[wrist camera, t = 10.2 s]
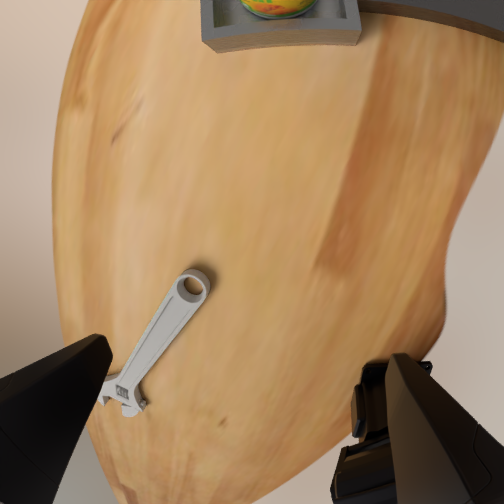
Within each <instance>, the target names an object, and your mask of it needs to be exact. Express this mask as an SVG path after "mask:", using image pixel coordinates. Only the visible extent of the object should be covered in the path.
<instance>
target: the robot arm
mask: <svg viewBox="0 0 504 504" xmlns="http://www.w3.org/2000/svg"><path fill="white" fill-rule="evenodd" d="M112 359H113V354H112V351H111V348H110V346H109V343H108V341H107V339H106V337H105V336H104V335H101V334H92V335H90V336H88V337H86V338H84V339H82V340H79V341H77V342H75V343H73V344H71V345H69V346H67V347H65V348H63V349H61V350H59V351H57V352H55V353H53V354H51V355H49V356H47V357H45V358H42V359H41V360H38V361H36V362H34V363H32V364H30V365H28V366H26V367H24V368H22V369H20V370H18V371H16V372H15V373H11V374H9V375H7V376H5V377H3V378H1V379H0V504H52V503H53V501H54V498H55V496H56V493H57V491H58V488H59V485H60V482H61V480H62V477H63V475H64V472H65V470H66V468H67V465H68V463H69V460H70V458H71V456H72V453H73V451H74V449H75V446H76V444H77V442H78V440H79V437H80V435H81V433H82V431H83V429H84V426H85V424H86V422H87V420H88V418H89V416H90V413H91V411H92V409H93V407H94V405H95V403H96V401H97V399H98V396H99V394H100V392H101V389H102V386H103V383H104V381H105V378H106V375H107V373H108V370H109V367H110V365H111V362H112ZM427 366H428V367H427ZM432 367H433V366H432V363H431V362H430V361H422V362H415V361H414V360H413V359H412V358H411V357H410V356H409V355H408V354H406V353H394V354H392V355H391V357H390V361H389V364H367V365H365V366H364V367H363V368H362V372H361V377H360V382H359V384H357V385H356V386H355V387H354V392H353V396H352V401H351V418H352V436H353V437H354V438H359V443H358V444H355V445H352V446H346V447H343V448H342V449H341V453H340V456H339V460H338V463H337V467H336V470H335V474H334V477H333V480H332V484H331V487H330V492H331V497H332V501H333V504H504V446H502V445H501V444H500V443H499V442H498V441H497V440H496V439H495V438H494V437H493V436H492V435H491V434H489V433H488V432H487V431H486V430H485V429H484V428H483V427H482V426H481V425H480V424H478V422H477V421H476V420H475V419H474V418H473V417H472V416H471V415H470V414H469V413H468V412H467V411H466V410H465V409H464V408H463V407H462V406H461V405H460V404H459V403H458V402H457V401H456V400H455V399H454V398H453V397H452V396H451V395H450V394H449V393H448V392H447V391H446V390H445V389H443V388H442V387H441V386H440V385H439V384H438V383H437V382H436V381H435V380H434V379H433V378H432V377H431V376H430V373H431V370H432ZM368 369H370V370H368ZM366 370H368V371H366Z"/></svg>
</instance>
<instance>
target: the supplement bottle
mask: <svg viewBox="0 0 504 504" xmlns="http://www.w3.org/2000/svg"><path fill="white" fill-rule="evenodd" d="M316 1H317V0H240V2H241V3H242V4H243V6H244V7H245V8H246V9H248V10H249V11H250V12H252V13H254V14H256V15H258V16H261V17H264V18H269V19H287V18H292V17H296V16H298V15H301V14H303V13H304V12H306V11H308V10H309V9H310V8H311V7H312V6H313V5H314V4H315V3H316Z"/></svg>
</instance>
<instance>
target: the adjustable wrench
mask: <svg viewBox="0 0 504 504" xmlns="http://www.w3.org/2000/svg"><path fill="white" fill-rule="evenodd" d="M187 277H192V278H194V279H196V280H197V281H198V282H200V283H201V285H202V287H203V291H202V293H201V294H200V295H193V294H191V293H189V292H188V291H187V290H186V288H185V287H184V280H185V279H186V278H187ZM209 292H210V282H209V280H208V278H207V276H206V275H205V274H203V273H202V272H200V271H199V270H195V269H188V270H186V271H184V272H183V273H182V274H181V275H180V276H179V277H178V278H177V279H176V281H175V282H174V284H173V286H172V287H171V289H170V290H169V292H168V294H167V295H166V297H165V299H164V300H163V302H162V303H161V305H160V307H159V308H158V310H157V312H156V313H155V315H154V317H153V318H152V320H151V322H150V323H149V325H148V327H147V328H146V330H145V332H144V333H143V335H142V337H141V339H140V340H139V342H138V344H137V345H136V347H135V349H134V351H133V352H132V354H131V356H130V357H129V359H128V361H127V363H126V364H125V366H124V368H123V370H122V371H121V372H120V373H117V374H114V375H110V376H106V378H105V381H104V383H103V386H102V389H101V392H100V394H99V396H98V401H99V402H100V403H101V404H102V405H104V406H105V404H106V403H107V402H108V400H109V398H108V396H111V397H112V398H114V399H116V400H118V401H120V402H122V403H123V404H122V405H121V407H122V413H123V416H125V417H132V416H135V415H136V414H137V413H138V412H139V410H140V411H142V412H143V410H144V409H145V407H146V401H145V400H143V399H142V397H141V395H140V392H139V388H138V385H139V382H140V380H141V379H142V378H143V377H144V375H145V374H146V373H147V372H148V370H149V369H150V368H151V366H152V365H153V364H154V363H155V361H156V360H157V359H158V358H159V356H160V355H161V354H162V353H163V351H164V350H165V349H166V348H167V346H168V345H169V344H170V343H171V341H172V340H173V339H174V338H175V336H176V335H177V334H178V332H179V331H180V330H181V329H182V327H183V326H184V325H185V324H186V322H187V321H188V320H189V319H190V317H191V316H192V315H193V314H194V312H195V311H196V310H197V309H198V307H199V306H200V305H201V304H202V302H203V301H204V300H205V298H206V297H207V295H208V294H209Z"/></svg>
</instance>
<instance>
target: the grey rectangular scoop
mask: <svg viewBox="0 0 504 504" xmlns="http://www.w3.org/2000/svg"><path fill="white" fill-rule="evenodd" d="M200 3H201V33H202V42H204V43H205V44H206V45H208V46H209V47H210V48H211V49H213V50H214V51H215V52H216V53H224V52H230V51H238V50H246V49H254V48H265V47H277V46H295V45H351V46H355V45H356V43H357V41H358V38H359V36H360V34H361V32H362V28H361V22H360V16H359V12H370V13H380V14H389V15H396V16H403V17H410V18H415V19H421V20H426V21H431V22H436V23H440V24H444V25H449V26H453V27H456V28H460V29H464V30H467V31H471V32H474V33H477V34H480V35H483V36H486V37H489V38H492V39H495V40H498V41H501V42H503V43H504V0H317V1H316V3H315V4H314V5H313V6H312V7H311V8H310V9H309V10H308V11H306V12H304V13H303V14H301V15H298V16H296V17H292V18H287V19H269V18H264V17H261V16H258V15H256V14H254V13H252V12H250V11H249V10H248V9H246V8H245V7H244V6H243V4H242V3H241V2H240V0H200Z"/></svg>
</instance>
